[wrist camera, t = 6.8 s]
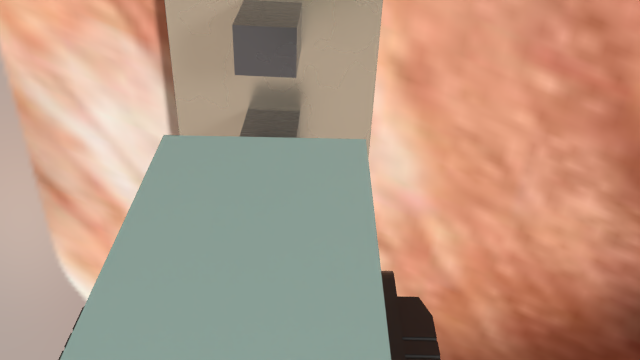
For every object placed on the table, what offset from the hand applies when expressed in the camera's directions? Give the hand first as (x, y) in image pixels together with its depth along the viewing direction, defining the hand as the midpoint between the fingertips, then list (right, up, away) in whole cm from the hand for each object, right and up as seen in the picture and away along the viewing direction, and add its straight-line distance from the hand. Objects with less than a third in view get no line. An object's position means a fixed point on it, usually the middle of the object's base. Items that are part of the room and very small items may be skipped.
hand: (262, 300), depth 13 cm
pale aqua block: (0, +1, +1) cm, 1 cm away
